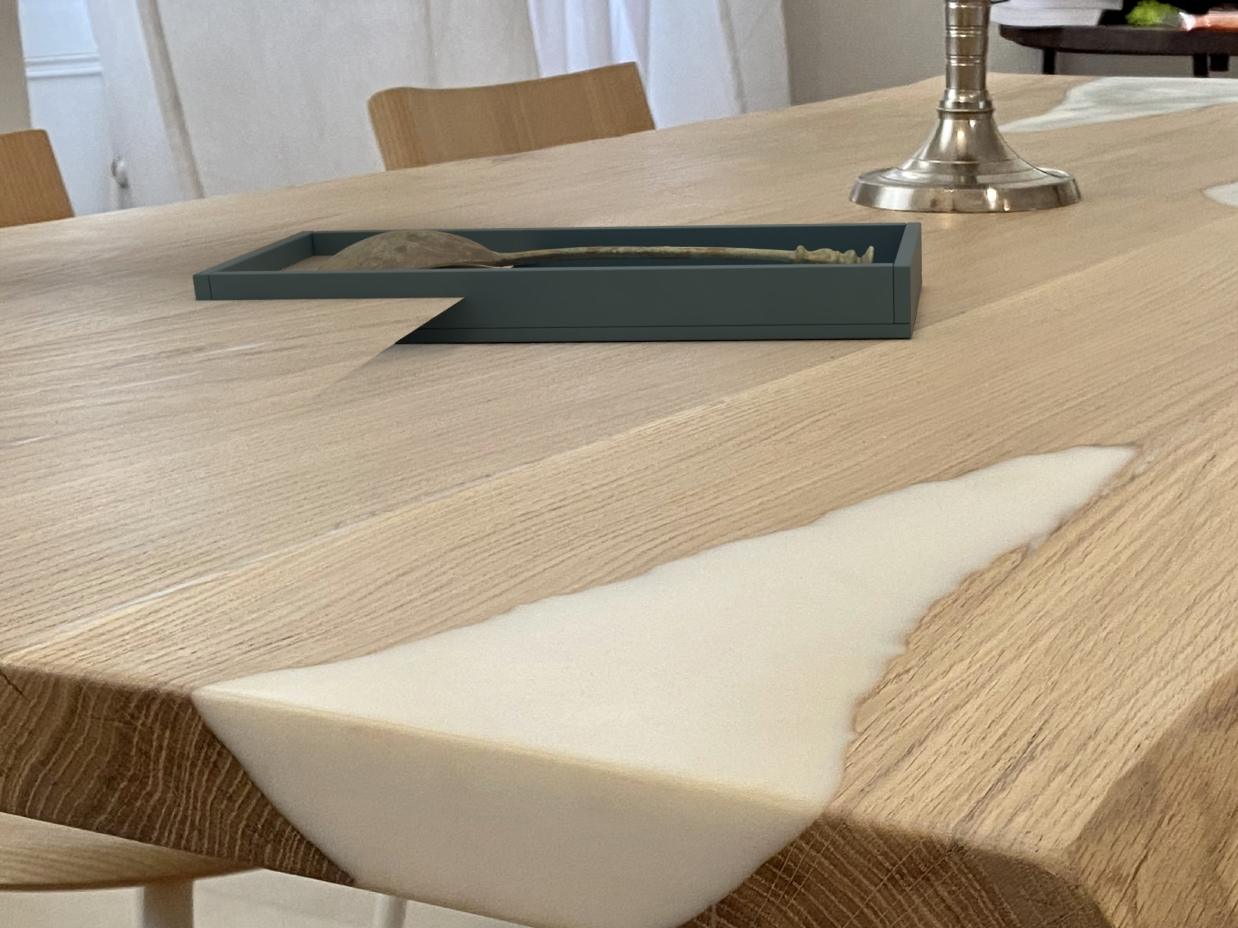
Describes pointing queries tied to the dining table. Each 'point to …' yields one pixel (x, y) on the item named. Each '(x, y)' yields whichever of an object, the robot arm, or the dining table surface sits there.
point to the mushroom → (541, 253)
